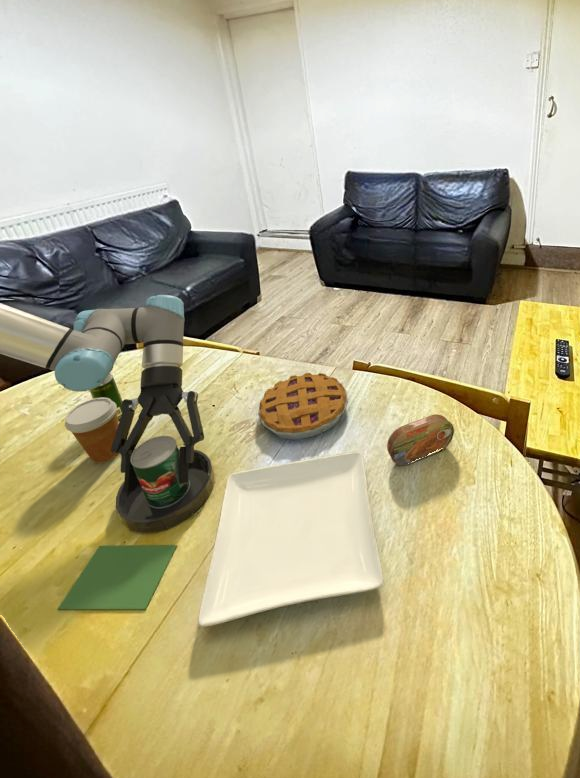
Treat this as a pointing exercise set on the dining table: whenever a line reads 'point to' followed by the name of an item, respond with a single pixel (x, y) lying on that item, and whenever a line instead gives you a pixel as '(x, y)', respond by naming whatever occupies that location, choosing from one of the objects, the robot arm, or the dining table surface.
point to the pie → (303, 406)
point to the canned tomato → (159, 471)
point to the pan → (152, 520)
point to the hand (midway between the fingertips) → (156, 487)
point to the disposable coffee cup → (94, 427)
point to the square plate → (291, 538)
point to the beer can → (109, 393)
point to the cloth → (119, 578)
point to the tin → (419, 439)
